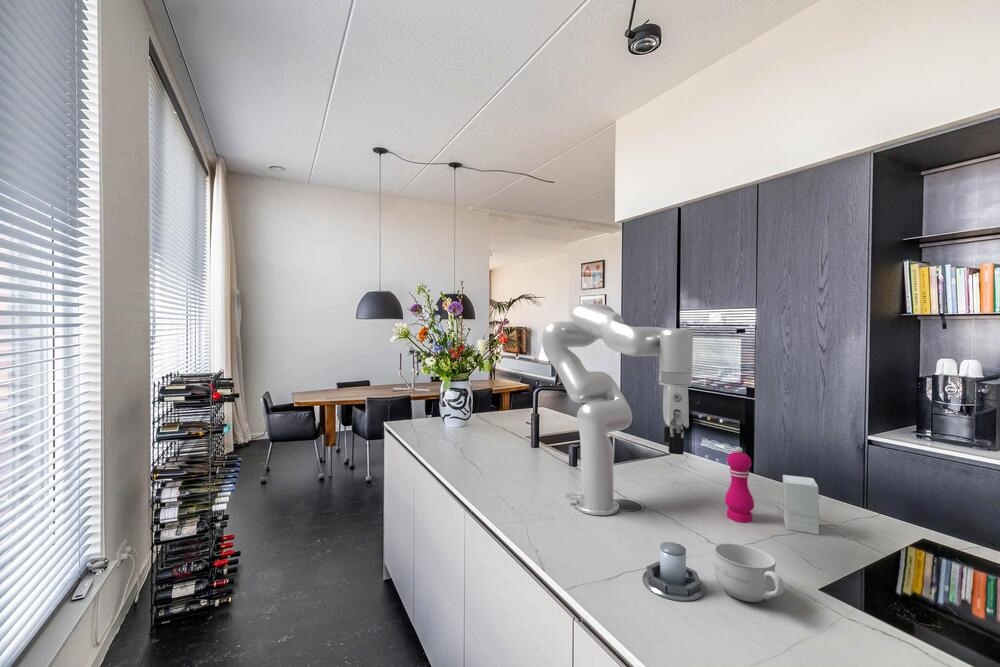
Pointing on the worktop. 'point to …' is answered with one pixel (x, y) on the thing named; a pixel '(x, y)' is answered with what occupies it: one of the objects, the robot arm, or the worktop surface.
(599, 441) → the robot arm
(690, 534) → the worktop surface
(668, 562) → the grey domed cylinder
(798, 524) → the supplement box
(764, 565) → the teacup
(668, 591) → the faceted metallic bowl
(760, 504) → the worktop surface
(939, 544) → the worktop surface
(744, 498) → the pepper mill
